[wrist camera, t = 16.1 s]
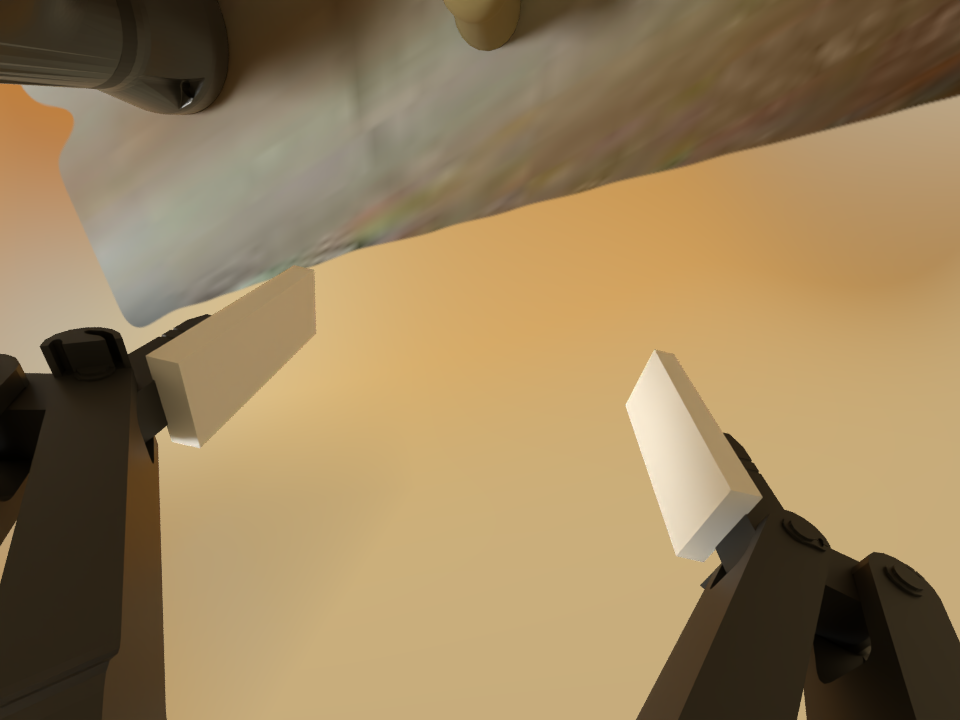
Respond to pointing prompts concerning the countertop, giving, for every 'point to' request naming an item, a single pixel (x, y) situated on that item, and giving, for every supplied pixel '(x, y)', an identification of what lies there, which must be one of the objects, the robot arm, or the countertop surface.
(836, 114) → the countertop surface
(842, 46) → the countertop surface
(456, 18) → the cork
